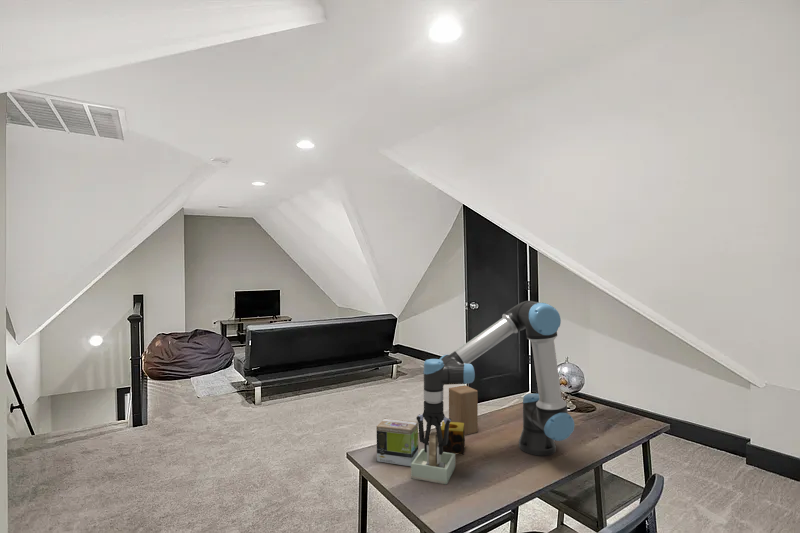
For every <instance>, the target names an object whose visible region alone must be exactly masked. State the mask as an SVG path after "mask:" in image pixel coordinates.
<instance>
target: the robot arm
mask: <svg viewBox="0 0 800 533" xmlns="http://www.w3.org/2000/svg"><path fill="white" fill-rule="evenodd" d="M501 317H502V318H500V319H499V320H497V321H496V322H494V323H493V324H492V325H490V326H488V327H487V328H485V329H484V330H483V331H482V332H480V333H479V334H478V335H476V336H475V337H473V338H472V339H470V340H469V341H467V342H466V343H464V344H463V345H462V346H460V347H459V348H457V349H456V350H454V351H453V352H452V353H450V354H444V355H442V356H440V358H439V359H438V358H430V359H428V358H427V359H425V360H424V362H423V400H424V401H423V413H421V414H418V415H417V416H416V422H418V441H419V443H422V444H424V446H423V447H424V448H423V449H424V451H425V452H426V453H427V462H429V435H430V434H431V432H432V431H431V429H432V426H434V427H435V432H437V438H438V446H437V464H439V463H440V461H441V455H442V453H443V446H446V445H447V443H448V435H449V424H450V422H451V419H450V418H449V417H447V416H446V415H445V413H444V385H446V386H447V385H466V384H472V383H473V382H474V381H475V377H476V373H475V367H474V366H473V364H472V362H474V361H475V360H476V359H478V358H479V357H480V356H482V355H483V354H485V353H486V352H488V351H490V350H491V349H492V348H494V347H495V346H496V345H498V344H499V343H501V342H502V341H503V340H505V339H507V338H508V337H509V336H510V335H512V334H518V333H520V331H523V330H525V333H526V339H527V340H529V341H530V342H531V347H532V356H533V361H534V362H533V363H534V370H535V371H534V372H535V376H536V377H535V378H536V383H537V384H536V386H537V392H538V393H528V394H525V395H524V396H523V398H522V431H521V434H520V436H519V439H518V440H519V441H518V448H519V449H520V451H522V452H524V453H526V454H528V455H529V454H530V455H534V456H541V457H542V456H550V455H553V454H555V453H556V451H557V447H556V443H555V441H557V442H560V441H561V442H562V441H565V440H567V439H568V438H569V437H570V436H571V435H572V434H573V432H574V430H575V420H574V418H573V417H572V416H571V414H570V413H568V406H567V405H568V404H567V401H566V400H564V399H563V398H562V392H561V391H562V390H561V383H560V377H559V376H560V375H559V369H558V362H557V361H558V360H557V353H556V347H555V339H557V337H558V331H559V328H560V326H561V322H562V320H561V315H560V313H559V311H558V310H557V309H556V308H555V307H554V306H552V305H550V304H548V303H546V302H538V301H533V300H525V301H522V302H519V303H518V304H516V305H515V306H513V307H511V308H510V309H509V310H507V311H506V312H504V313H503V314H502V316H501ZM424 420H425V422H426V426H425V427H426V428H425V427H424ZM443 421H444V423H445V428H444V441H443V437H442V431H441V426H442V422H443ZM424 428H425V429H424ZM424 430H425V432H424Z"/></svg>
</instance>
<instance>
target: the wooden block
mask: <svg viewBox="0 0 800 533" xmlns="http://www.w3.org/2000/svg"><path fill="white" fill-rule="evenodd" d="M478 392H479V391H478V389H475V388H472V387H470V386H468V385H466V384H463V385H460V386H453V387H449V388H448V419H449V418H450V419H451V422H459V423H464V436H467V435H472V434H475V433H478V430H479V429H478V428H479V426H478V422H479V421H478V419H479V416H478V410H479V408H478V407H479V406H478V402H479V401H478V400H479V399H478V397H479V396H478Z"/></svg>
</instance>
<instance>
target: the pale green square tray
mask: <svg viewBox="0 0 800 533" xmlns="http://www.w3.org/2000/svg"><path fill="white" fill-rule="evenodd" d="M455 469H456V454H454V453H447V452H443V453H442V455H441V461H440V463H439V464H438V467H435V466H429V462H427V453H426V452H425V451H424V448H421V449H420V451H418V455H417V456H416V458H415V459H414V460H413V462H412V463H411V466H410V475H411V476H410V478H411V479H412V480H418V481H419V480H420V481H425V482H429V483H435V484H440V485H448V483H449V481H450V478H452V477H451V476H452V475H453V473H454V471H455Z"/></svg>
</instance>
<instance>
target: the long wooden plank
mask: <svg viewBox="0 0 800 533" xmlns="http://www.w3.org/2000/svg"><path fill="white" fill-rule="evenodd" d="M428 443H429V466H435V467H438V464H437V446H438V438H437V431H430V435H429V442H428Z"/></svg>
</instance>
